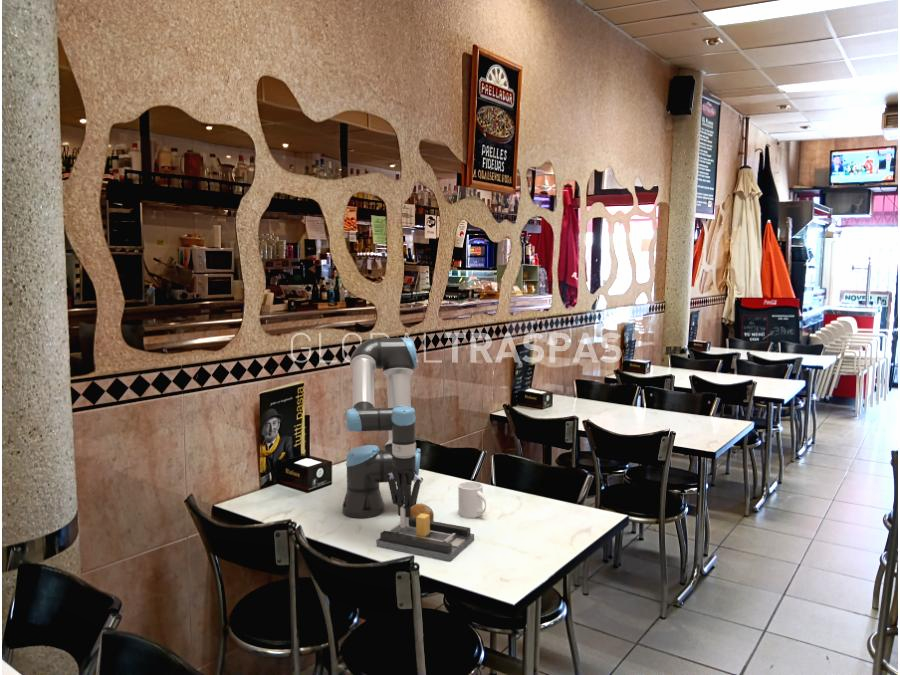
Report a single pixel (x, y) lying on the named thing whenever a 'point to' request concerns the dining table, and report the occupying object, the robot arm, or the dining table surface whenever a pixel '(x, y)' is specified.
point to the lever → (423, 525)
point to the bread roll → (421, 511)
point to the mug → (471, 499)
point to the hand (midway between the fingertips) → (404, 525)
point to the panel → (427, 552)
